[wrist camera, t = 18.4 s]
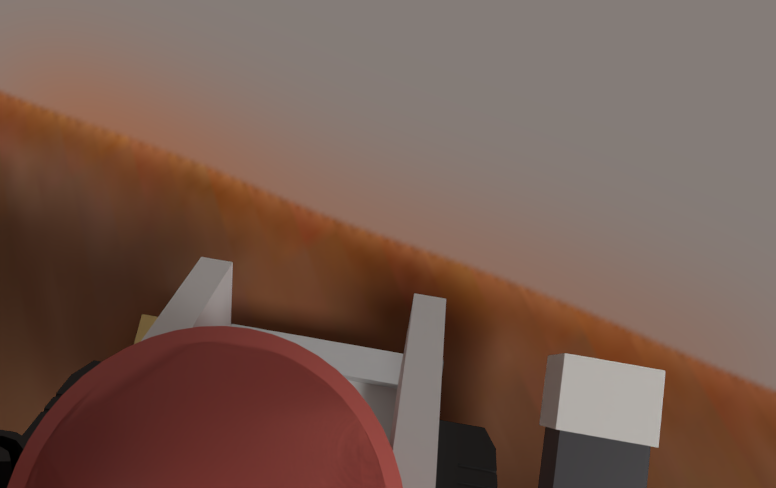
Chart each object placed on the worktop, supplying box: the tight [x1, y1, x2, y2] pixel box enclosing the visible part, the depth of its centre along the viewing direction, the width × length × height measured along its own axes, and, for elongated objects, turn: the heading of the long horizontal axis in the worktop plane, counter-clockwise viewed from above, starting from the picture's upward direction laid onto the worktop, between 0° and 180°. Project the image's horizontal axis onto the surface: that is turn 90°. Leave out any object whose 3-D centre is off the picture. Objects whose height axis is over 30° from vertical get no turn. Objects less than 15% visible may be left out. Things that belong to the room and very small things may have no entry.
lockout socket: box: [134, 314, 444, 442], centre depth 22 cm, size 10×8×2 cm
